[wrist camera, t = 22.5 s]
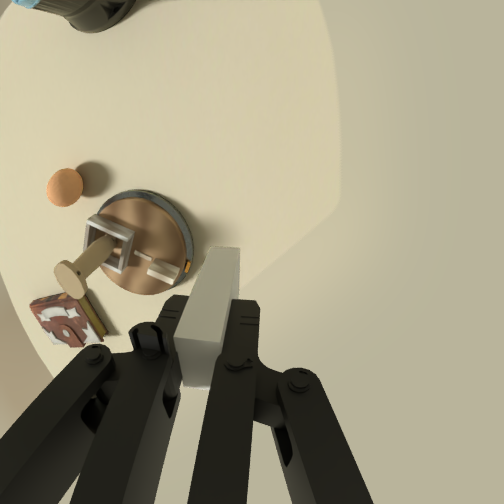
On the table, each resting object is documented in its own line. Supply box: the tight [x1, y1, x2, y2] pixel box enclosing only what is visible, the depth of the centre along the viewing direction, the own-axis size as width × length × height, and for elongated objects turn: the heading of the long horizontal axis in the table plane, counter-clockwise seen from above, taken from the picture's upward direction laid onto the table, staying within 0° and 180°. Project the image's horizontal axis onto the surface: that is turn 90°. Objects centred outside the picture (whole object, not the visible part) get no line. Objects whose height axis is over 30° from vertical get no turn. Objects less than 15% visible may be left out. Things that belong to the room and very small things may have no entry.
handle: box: [54, 234, 117, 299], centre depth 43 cm, size 5×6×15 cm
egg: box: [47, 168, 83, 207], centre depth 44 cm, size 7×7×8 cm
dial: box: [83, 197, 187, 295], centre depth 50 cm, size 20×20×6 cm
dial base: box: [97, 190, 193, 290], centre depth 53 cm, size 22×22×2 cm
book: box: [30, 293, 108, 348], centre depth 63 cm, size 23×16×5 cm
